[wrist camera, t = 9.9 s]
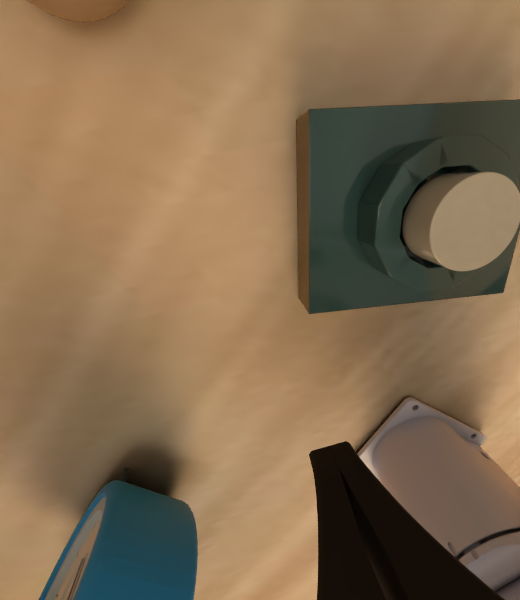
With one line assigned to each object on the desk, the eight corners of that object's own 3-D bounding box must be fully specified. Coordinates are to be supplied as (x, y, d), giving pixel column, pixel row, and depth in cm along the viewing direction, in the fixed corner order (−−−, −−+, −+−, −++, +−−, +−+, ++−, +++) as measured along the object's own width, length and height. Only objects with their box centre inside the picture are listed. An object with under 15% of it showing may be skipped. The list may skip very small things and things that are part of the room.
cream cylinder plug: (490, 170, 14) (534, 168, 12) (472, 256, 15) (508, 267, 13) (407, 175, 13) (438, 175, 11) (397, 263, 15) (423, 275, 13)
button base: (508, 108, 17) (604, 85, 12) (471, 280, 20) (535, 305, 16) (296, 119, 16) (323, 97, 11) (298, 298, 19) (319, 330, 15)
